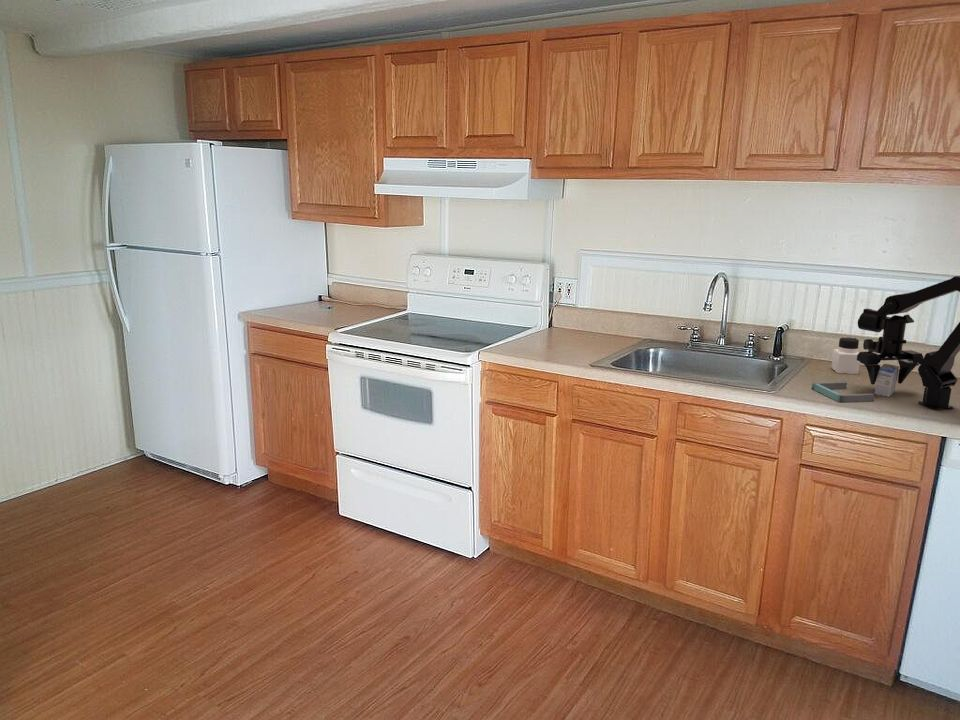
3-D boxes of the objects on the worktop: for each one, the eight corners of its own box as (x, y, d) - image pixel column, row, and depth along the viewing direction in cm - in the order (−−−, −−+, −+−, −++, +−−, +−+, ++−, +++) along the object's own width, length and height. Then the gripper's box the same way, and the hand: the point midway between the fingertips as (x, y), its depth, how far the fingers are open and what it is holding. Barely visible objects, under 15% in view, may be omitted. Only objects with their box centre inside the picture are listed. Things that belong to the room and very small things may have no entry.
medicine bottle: (859, 374, 245) (863, 340, 242) (836, 373, 246) (841, 339, 243) (852, 369, 252) (857, 336, 249) (831, 368, 253) (835, 335, 250)
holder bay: (873, 401, 215) (874, 394, 215) (839, 402, 214) (840, 396, 213) (844, 387, 229) (844, 381, 229) (811, 388, 228) (812, 382, 227)
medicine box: (879, 389, 228) (883, 363, 226) (895, 391, 225) (899, 365, 223) (874, 394, 222) (878, 368, 220) (890, 397, 219) (894, 370, 217)
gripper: (902, 329, 228) (895, 376, 232) (848, 330, 225) (842, 377, 229) (928, 336, 217) (920, 385, 221) (872, 338, 215) (865, 387, 219)
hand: (886, 383), depth 223 cm, fingers open, 9 cm apart
